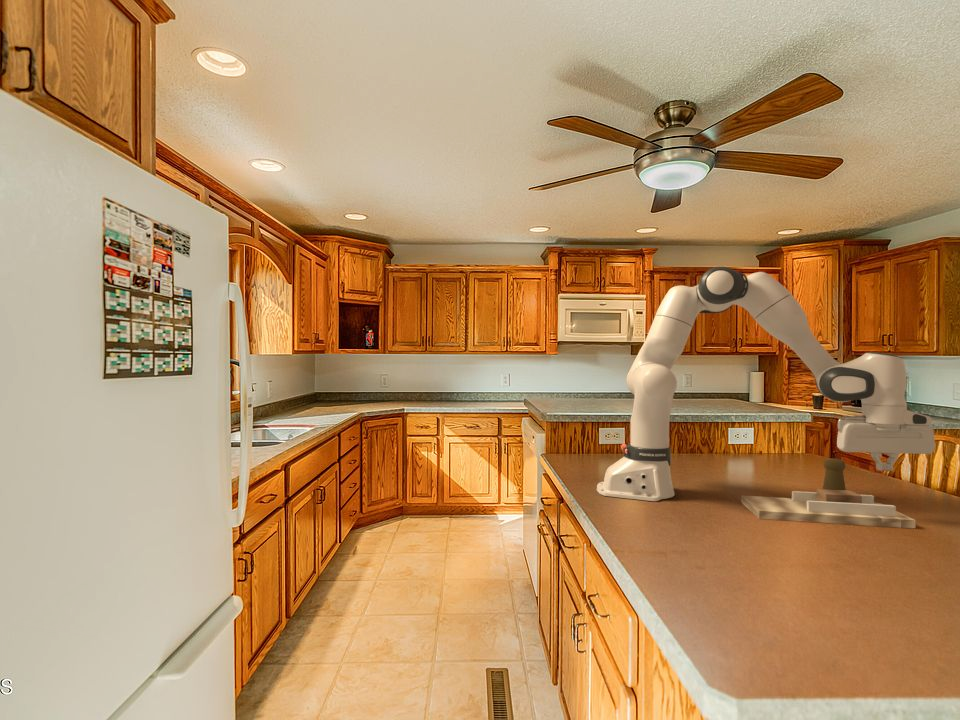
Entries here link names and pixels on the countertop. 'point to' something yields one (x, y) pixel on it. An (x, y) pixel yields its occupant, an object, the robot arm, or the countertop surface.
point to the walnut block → (838, 496)
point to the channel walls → (844, 505)
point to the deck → (817, 513)
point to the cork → (834, 474)
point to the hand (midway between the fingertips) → (884, 470)
